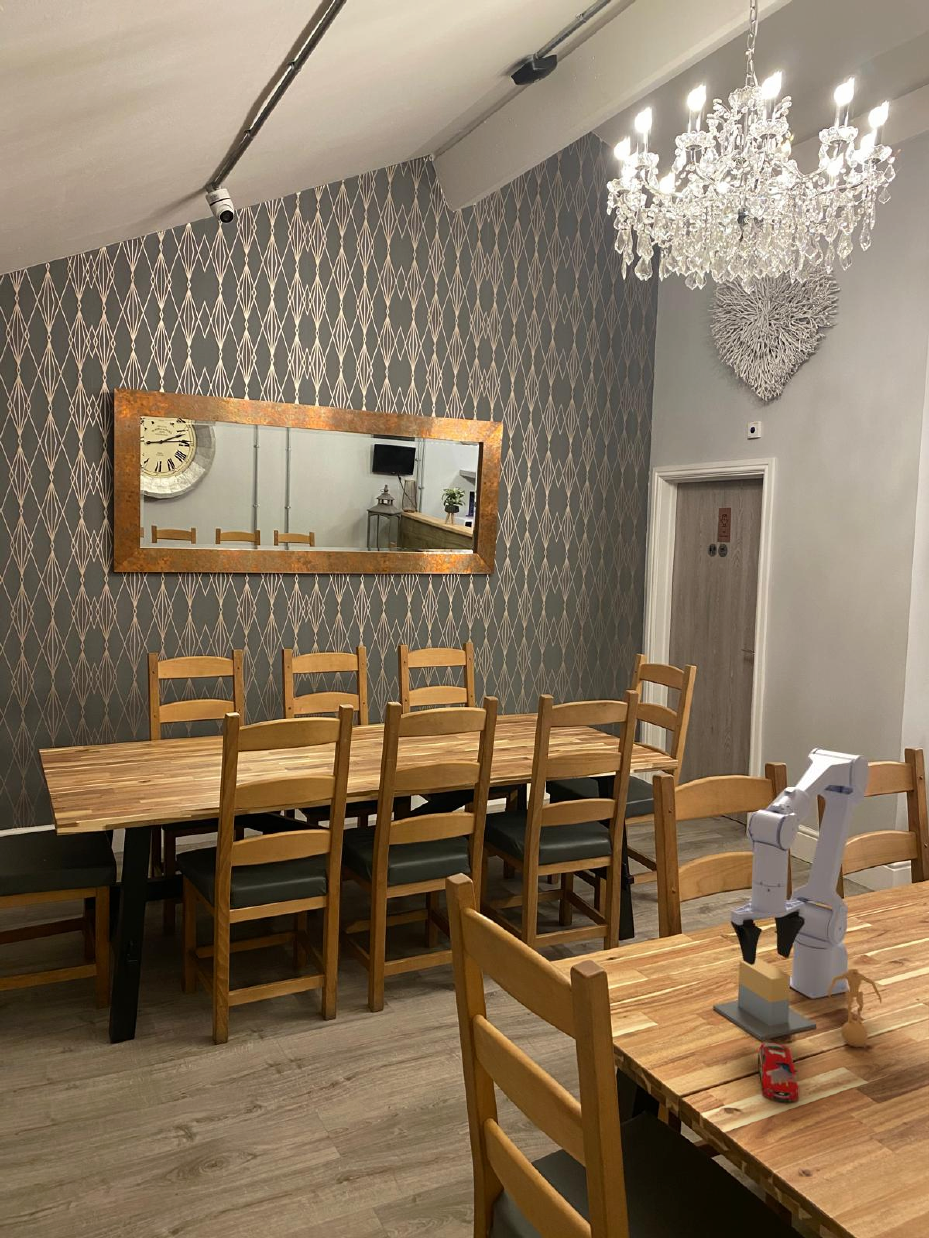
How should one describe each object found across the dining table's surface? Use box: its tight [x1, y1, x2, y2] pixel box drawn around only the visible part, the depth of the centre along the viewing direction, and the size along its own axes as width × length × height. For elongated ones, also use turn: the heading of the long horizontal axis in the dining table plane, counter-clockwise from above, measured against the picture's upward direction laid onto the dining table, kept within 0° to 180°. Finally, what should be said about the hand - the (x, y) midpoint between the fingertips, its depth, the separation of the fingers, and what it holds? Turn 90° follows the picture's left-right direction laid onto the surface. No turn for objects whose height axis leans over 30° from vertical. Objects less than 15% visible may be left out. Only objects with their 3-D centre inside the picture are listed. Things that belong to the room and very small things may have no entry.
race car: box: [757, 1042, 800, 1103], centre depth 143 cm, size 13×5×4 cm, turn 165°
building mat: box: [712, 999, 817, 1041], centre depth 163 cm, size 12×12×1 cm
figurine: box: [827, 968, 882, 1048], centre depth 155 cm, size 8×6×12 cm
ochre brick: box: [738, 957, 791, 1003], centre depth 163 cm, size 4×8×4 cm, turn 24°
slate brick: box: [737, 983, 790, 1026], centre depth 163 cm, size 4×8×4 cm, turn 25°
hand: (766, 958), depth 163 cm, fingers open, 7 cm apart
